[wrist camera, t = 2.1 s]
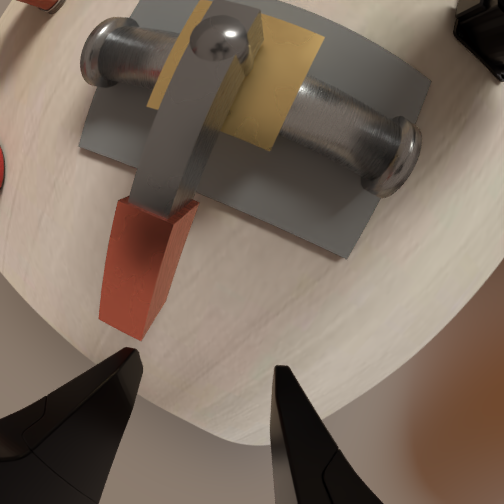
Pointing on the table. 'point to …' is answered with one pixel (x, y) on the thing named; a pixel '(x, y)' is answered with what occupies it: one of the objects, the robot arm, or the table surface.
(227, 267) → the table surface
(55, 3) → the lighter
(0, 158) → the beer can
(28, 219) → the table surface
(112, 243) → the lever
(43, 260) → the table surface
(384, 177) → the valve body
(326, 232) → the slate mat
